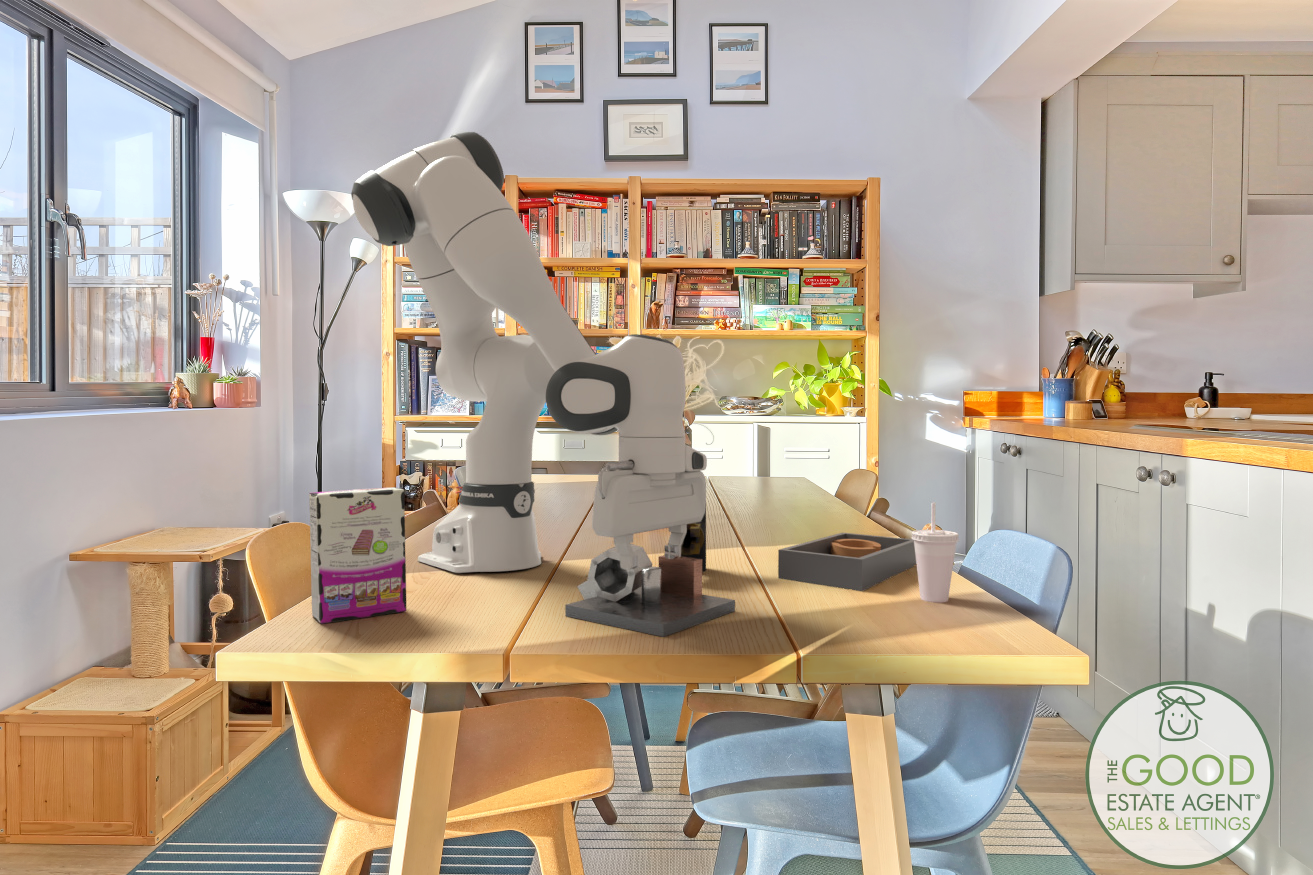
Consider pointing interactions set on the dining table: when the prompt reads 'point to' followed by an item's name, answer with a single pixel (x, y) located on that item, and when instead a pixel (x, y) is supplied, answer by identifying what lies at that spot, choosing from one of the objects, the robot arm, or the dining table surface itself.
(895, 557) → the parts corral
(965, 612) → the dining table surface
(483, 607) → the dining table surface
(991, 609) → the dining table surface
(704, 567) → the pipe connector
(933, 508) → the smoothie
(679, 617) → the grey square stand
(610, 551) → the octagonal handled mug
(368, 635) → the dining table surface
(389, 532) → the candy bar box
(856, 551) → the brown oblong hollow piece
